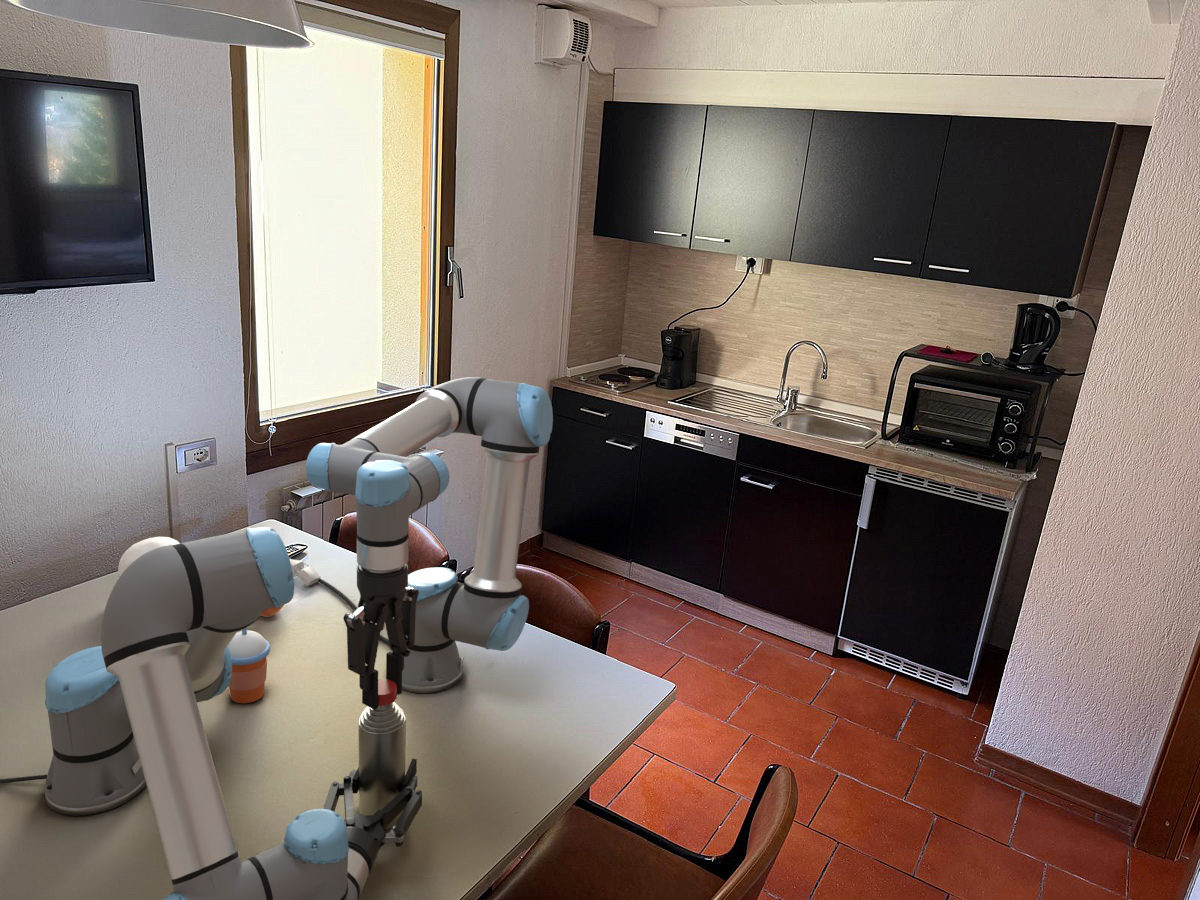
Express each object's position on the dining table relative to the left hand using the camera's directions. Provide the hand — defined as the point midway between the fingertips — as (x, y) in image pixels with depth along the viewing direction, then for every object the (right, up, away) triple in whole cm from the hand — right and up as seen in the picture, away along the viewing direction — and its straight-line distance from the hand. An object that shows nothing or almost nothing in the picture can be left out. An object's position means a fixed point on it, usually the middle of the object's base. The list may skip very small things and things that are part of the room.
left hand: (390, 763), depth 145 cm
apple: (-43, +14, +56) cm, 72 cm away
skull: (-67, +17, +58) cm, 91 cm away
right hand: (+1, +14, -9) cm, 17 cm away
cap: (+1, +15, -10) cm, 18 cm away
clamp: (-45, +20, +76) cm, 91 cm away
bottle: (-1, -8, -3) cm, 8 cm away
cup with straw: (-35, +4, +26) cm, 43 cm away
